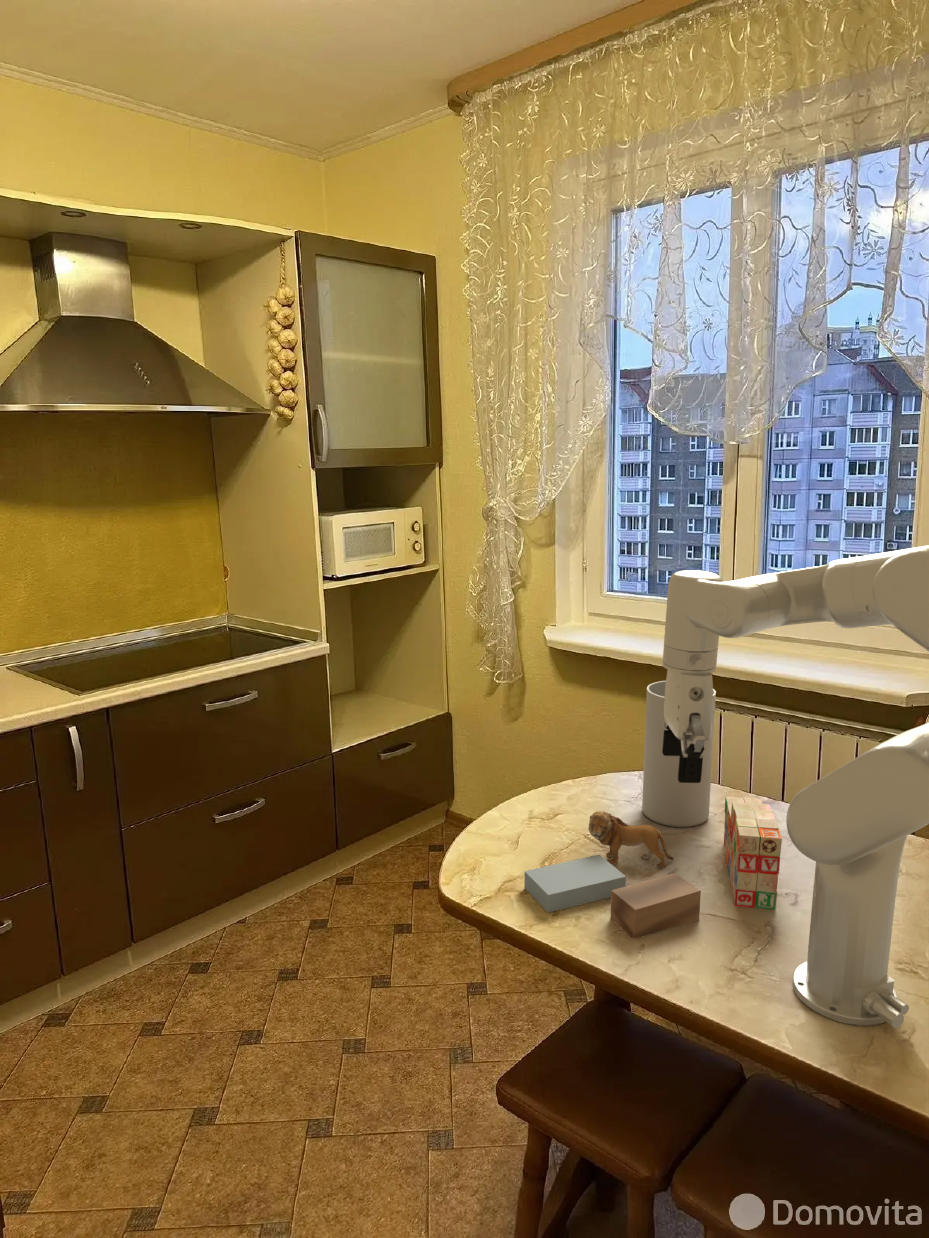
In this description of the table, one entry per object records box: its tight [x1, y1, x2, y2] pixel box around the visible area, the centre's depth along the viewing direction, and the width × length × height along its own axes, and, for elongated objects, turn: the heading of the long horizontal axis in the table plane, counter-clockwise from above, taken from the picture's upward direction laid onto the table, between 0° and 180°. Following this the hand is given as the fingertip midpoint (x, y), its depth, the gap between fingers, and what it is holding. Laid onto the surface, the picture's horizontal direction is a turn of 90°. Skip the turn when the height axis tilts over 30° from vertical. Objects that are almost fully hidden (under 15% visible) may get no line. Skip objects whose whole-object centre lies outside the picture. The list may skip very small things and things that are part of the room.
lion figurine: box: [588, 810, 675, 869], centre depth 148 cm, size 15×5×9 cm, turn 87°
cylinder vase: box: [641, 680, 717, 828], centre depth 165 cm, size 12×12×25 cm
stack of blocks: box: [723, 796, 783, 911], centre depth 143 cm, size 21×6×12 cm, turn 169°
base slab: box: [524, 854, 627, 913], centre depth 139 cm, size 8×14×3 cm, turn 113°
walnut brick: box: [609, 872, 702, 940], centre depth 131 cm, size 6×12×5 cm, turn 116°
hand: (680, 768), depth 129 cm, fingers open, 9 cm apart
